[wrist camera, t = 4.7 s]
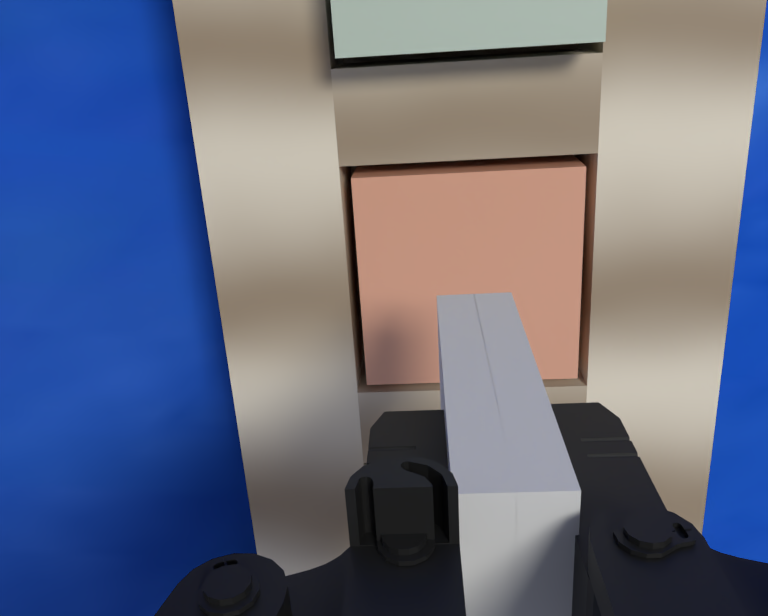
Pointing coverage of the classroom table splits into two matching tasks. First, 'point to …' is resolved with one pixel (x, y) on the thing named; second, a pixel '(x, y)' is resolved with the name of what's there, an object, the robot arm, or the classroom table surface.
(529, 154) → the button panel
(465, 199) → the terracotta button
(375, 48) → the sage button
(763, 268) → the classroom table surface
